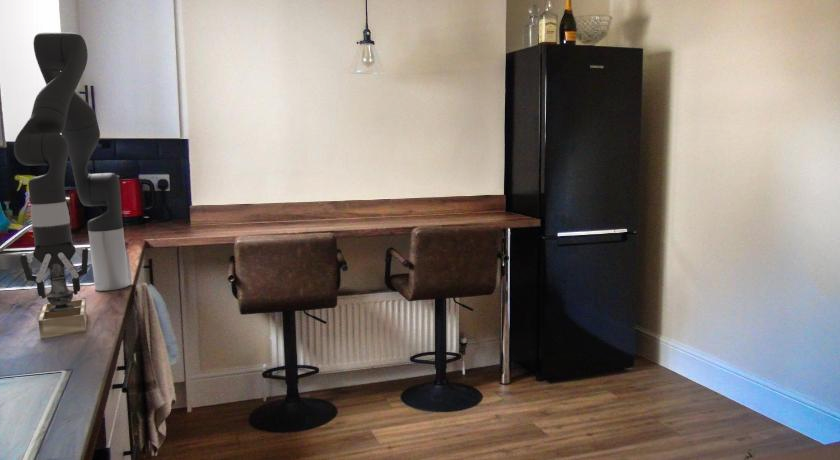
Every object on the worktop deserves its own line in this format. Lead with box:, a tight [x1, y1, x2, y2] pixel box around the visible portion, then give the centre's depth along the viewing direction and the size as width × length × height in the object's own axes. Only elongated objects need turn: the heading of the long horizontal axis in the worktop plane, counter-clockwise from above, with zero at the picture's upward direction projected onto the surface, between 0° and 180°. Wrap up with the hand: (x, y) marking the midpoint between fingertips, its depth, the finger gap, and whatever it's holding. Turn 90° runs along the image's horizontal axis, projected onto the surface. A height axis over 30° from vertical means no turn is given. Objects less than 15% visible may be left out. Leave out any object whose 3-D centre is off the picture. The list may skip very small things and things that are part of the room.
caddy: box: [38, 298, 88, 339], centre depth 160 cm, size 17×9×4 cm, turn 25°
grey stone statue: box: [45, 264, 75, 312], centre depth 155 cm, size 6×6×12 cm
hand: (60, 295), depth 156 cm, fingers closed on grey stone statue, 6 cm apart
